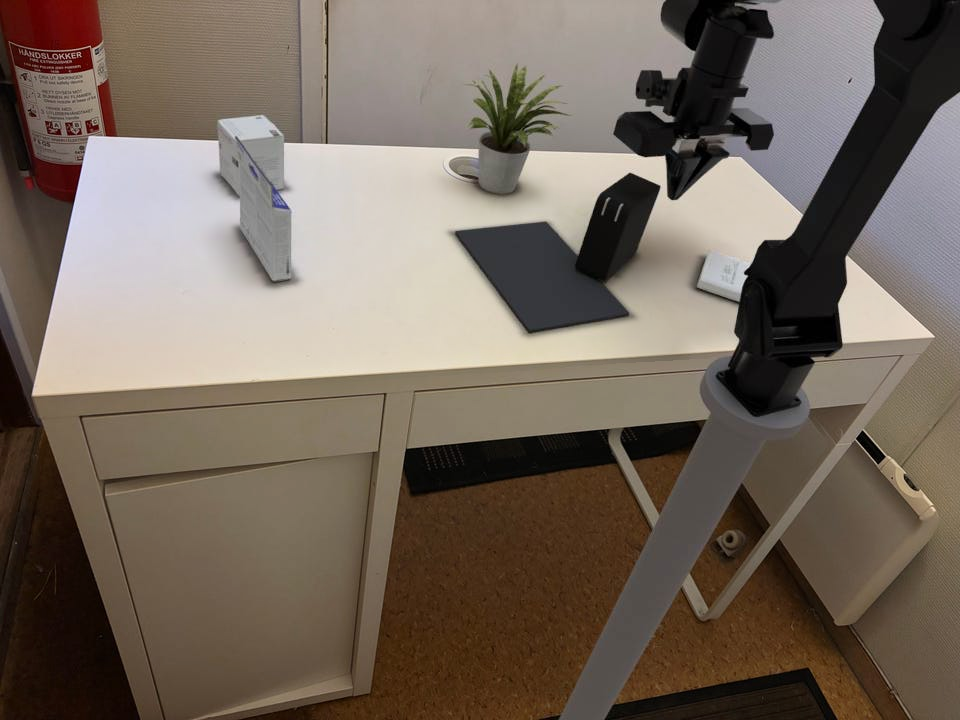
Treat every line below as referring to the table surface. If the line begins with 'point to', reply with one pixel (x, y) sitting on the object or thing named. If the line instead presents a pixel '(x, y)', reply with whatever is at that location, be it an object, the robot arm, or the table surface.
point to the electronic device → (617, 226)
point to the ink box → (264, 217)
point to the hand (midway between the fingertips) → (672, 198)
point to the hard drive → (723, 275)
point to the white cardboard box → (251, 148)
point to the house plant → (508, 131)
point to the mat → (539, 276)
